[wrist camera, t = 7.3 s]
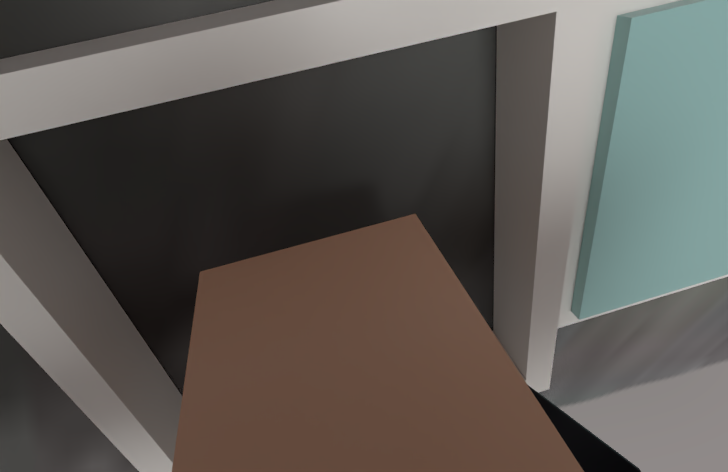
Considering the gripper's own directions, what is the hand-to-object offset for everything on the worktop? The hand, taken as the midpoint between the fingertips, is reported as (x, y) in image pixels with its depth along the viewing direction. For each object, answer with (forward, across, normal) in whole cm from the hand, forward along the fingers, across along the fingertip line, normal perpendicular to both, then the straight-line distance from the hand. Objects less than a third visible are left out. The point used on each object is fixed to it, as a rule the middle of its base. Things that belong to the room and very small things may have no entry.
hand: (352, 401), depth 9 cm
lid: (+5, -14, 0) cm, 15 cm away
